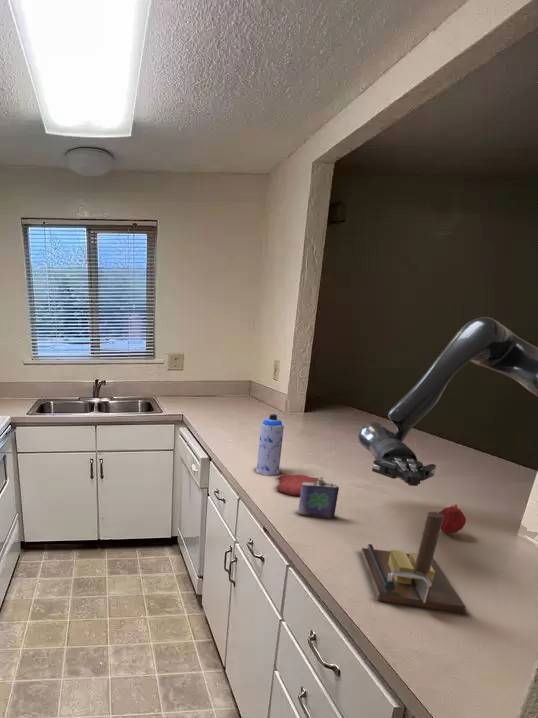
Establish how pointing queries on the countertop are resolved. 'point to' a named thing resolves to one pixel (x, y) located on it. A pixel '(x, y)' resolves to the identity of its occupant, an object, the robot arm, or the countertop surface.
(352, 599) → the countertop surface
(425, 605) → the butter board
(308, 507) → the flask
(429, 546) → the wooden handled slicer
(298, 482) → the patty
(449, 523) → the onion
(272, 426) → the aerosol can
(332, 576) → the countertop surface
